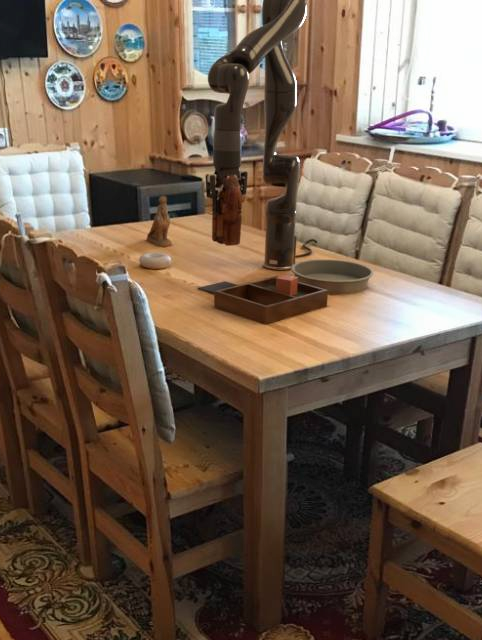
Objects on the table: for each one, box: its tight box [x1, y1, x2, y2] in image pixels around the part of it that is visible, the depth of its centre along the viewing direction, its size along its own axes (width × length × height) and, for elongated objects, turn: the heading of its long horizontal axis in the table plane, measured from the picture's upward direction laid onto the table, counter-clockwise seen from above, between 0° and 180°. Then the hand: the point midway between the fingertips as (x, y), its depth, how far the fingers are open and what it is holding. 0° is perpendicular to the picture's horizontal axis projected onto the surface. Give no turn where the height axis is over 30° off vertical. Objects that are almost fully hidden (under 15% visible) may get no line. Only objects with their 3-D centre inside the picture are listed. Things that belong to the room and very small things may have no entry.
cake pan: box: [290, 259, 374, 295], centre depth 244 cm, size 25×25×4 cm
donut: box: [138, 252, 172, 270], centre depth 255 cm, size 10×3×10 cm
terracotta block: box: [276, 274, 298, 296], centre depth 224 cm, size 4×4×4 cm
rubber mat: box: [197, 280, 238, 295], centre depth 235 cm, size 11×11×1 cm
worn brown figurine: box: [146, 194, 172, 247], centre depth 279 cm, size 12×6×18 cm, turn 26°
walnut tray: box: [213, 275, 329, 325], centre depth 221 cm, size 25×19×4 cm
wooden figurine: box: [211, 174, 243, 247], centre depth 224 cm, size 12×6×18 cm, turn 31°
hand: (226, 212), depth 225 cm, fingers closed on wooden figurine, 6 cm apart
